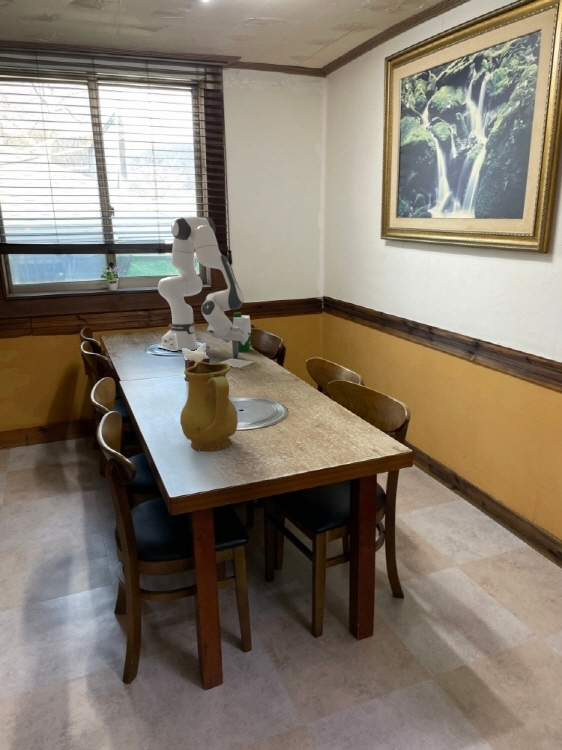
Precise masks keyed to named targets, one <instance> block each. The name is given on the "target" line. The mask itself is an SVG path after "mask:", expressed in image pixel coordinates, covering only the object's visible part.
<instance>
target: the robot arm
mask: <svg viewBox="0 0 562 750" xmlns="http://www.w3.org/2000/svg"><path fill="white" fill-rule="evenodd" d="M171 233H172V236H173V241H172V249H171V250H172V252H171V265H172V266H173V267H174V268H175V269H177V271H178V275H175V276H174V275H173V276H167V277H165V278H161V279H160V280H159V282H158V284H157V291H158V293H159V294H160V296H161V297H163V298H164V299H165V300H166V302H167V303H168V305H169V306H170V307H169V308H170V310H171V318H172V319H171V321H172V322H171V323H169V324H168V327H170V328H169V330H168V331H167V332H166V333H165V334H164V335H162V337H161V342H160V343H161V344H160V345H161V346H160V345H157V347H160V348H164V349H168V350H172V351H177V350H181V349H182V348H187V349H190V351H195V350H196V349H198V348H199V346H198V343H197V340H196V334H195V328H196V327H195V322H194V311H193V308H192V306H191V305H190V304H188V303H186V301H185V297H192V296H194V295H195V296H196V295H198V294H199V293H200V292H201V291H202V289H203V281H202V279H201V278H200V276H199V275H198V274H197V273H196V270H195V266H194V265H195V264H194V263H195V261H194V260H195V257H196V259H197V261H198V263H199V264H200V265H201V266H203V267H205V268H210V269H217V270H220V272H222V275H223V277H224V280H225V283H226V285H227V289H224V290H220V291H215V292H211V293H208V294H207V295H206V296H205V299H204V302H203V303H202V304H201V310H200V311H201V313H202V316H203V318H204V320H206V322H207V323H208V327H207V329H206V331H207V332H208V333H209V334H210V335H211V337H212V338H214V339H218V340H219V339H220V340H222V341H224V342H225V343H226V344H230V341H232V340H234V341H241V342H240V343H241V345H244V344H245V342H246V341H247V340H248V337H249V335H248V334H247V333H246V332H245V331H244V330H243V329H242V328H239V327H233V322H232V321H231V320H230V319H229V317H228V316H227V315H226V314H225V312H226V311H230V310H238V309H240V308H241V307H242V305H243V303H244V295H243V294H242V293H243V292H242V290H241V288H240V286H239V284H238V281H237V279H236V276H235V273H234V271H233V268H232V266H231V263H230V261H229V259H228V258H227V256H226V255H223V254H222V253H221V251H220V249H219V243H218V240H217V237H216V235H215V233H216V225H215V223H214V221H213V219H211V218H208V217H201V216H200V217H199V216H188V217H181V216H180V217H176V218H175V219H173V221H172V223H171ZM197 347H198V348H197Z"/></svg>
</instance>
